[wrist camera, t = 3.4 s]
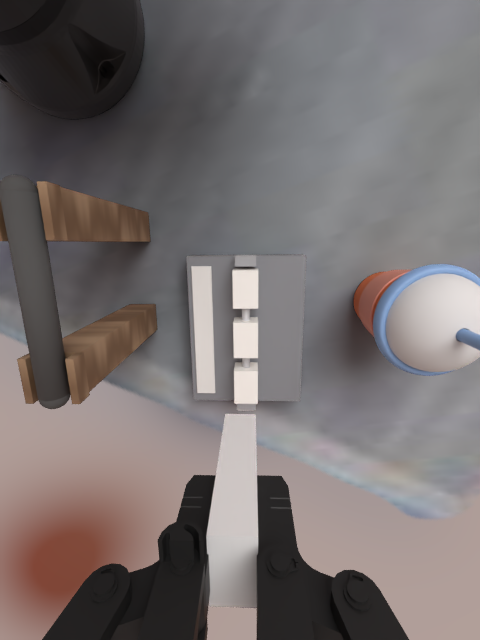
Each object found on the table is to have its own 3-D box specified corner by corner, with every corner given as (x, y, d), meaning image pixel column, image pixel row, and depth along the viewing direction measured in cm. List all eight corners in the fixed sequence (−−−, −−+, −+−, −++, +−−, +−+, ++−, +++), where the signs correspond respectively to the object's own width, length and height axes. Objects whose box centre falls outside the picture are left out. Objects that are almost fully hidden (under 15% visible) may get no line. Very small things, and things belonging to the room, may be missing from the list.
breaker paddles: (233, 268, 31) (232, 270, 28) (257, 268, 30) (258, 270, 28) (235, 392, 34) (234, 403, 32) (257, 392, 34) (257, 403, 31)
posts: (118, 213, 33) (-19, 182, 16) (150, 212, 33) (46, 181, 16) (130, 329, 36) (25, 403, 19) (159, 329, 36) (79, 403, 19)
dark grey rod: (13, 178, 17) (-14, 171, 16) (44, 178, 17) (20, 170, 15) (51, 399, 21) (33, 414, 19) (78, 400, 21) (62, 414, 19)
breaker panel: (191, 254, 34) (181, 256, 29) (301, 253, 33) (310, 255, 28) (198, 388, 38) (190, 410, 33) (296, 389, 37) (302, 411, 32)
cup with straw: (323, 295, 34) (396, 350, 17) (391, 239, 33) (552, 236, 15) (371, 353, 36) (485, 459, 18) (439, 303, 34) (636, 366, 17)
